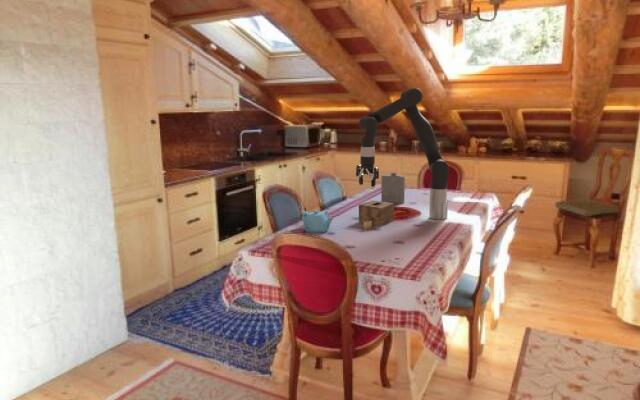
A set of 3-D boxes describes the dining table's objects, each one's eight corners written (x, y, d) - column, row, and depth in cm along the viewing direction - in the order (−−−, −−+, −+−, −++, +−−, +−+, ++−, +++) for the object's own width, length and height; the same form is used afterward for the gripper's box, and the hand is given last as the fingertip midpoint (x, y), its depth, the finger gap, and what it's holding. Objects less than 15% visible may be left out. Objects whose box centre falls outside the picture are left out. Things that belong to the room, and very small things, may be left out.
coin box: (393, 220, 269) (393, 203, 266) (380, 226, 258) (380, 208, 256) (372, 217, 277) (372, 200, 275) (358, 222, 267) (358, 204, 264)
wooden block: (371, 227, 255) (371, 220, 254) (366, 230, 251) (366, 222, 250) (368, 227, 256) (368, 220, 255) (363, 229, 252) (363, 222, 252)
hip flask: (380, 201, 318) (380, 171, 314) (382, 200, 322) (383, 170, 317) (403, 203, 310) (403, 173, 306) (405, 202, 314) (406, 172, 310)
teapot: (329, 225, 261) (329, 206, 259) (333, 233, 246) (332, 213, 244) (301, 227, 259) (300, 207, 257) (303, 234, 245) (302, 214, 242)
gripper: (382, 155, 250) (381, 186, 253) (362, 153, 260) (362, 183, 263) (373, 157, 245) (372, 188, 248) (352, 154, 255) (352, 184, 258)
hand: (367, 185), depth 256 cm, fingers open, 8 cm apart
